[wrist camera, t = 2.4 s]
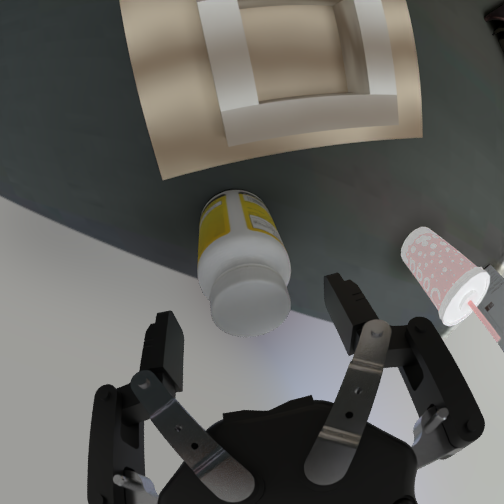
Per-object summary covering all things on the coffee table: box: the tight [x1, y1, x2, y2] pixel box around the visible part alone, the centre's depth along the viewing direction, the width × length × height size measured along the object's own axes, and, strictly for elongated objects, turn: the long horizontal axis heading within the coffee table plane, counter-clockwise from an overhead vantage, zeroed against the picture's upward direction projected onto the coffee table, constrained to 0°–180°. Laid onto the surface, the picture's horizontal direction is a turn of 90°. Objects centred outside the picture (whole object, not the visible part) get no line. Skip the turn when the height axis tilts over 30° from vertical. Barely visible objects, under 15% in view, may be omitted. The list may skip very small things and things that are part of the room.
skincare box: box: [477, 265, 504, 352], centre depth 27 cm, size 6×4×12 cm
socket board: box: [119, 0, 422, 180], centre depth 13 cm, size 14×20×4 cm
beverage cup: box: [401, 227, 501, 342], centre depth 20 cm, size 6×6×14 cm
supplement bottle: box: [197, 190, 291, 337], centre depth 17 cm, size 5×5×10 cm
